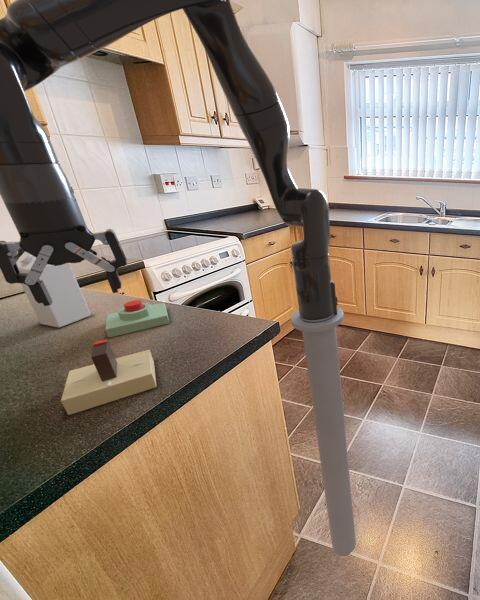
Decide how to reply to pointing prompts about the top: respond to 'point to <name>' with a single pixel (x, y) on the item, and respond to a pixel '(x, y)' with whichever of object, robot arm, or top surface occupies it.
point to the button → (133, 306)
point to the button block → (136, 319)
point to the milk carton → (56, 294)
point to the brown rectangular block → (104, 360)
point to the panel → (108, 383)
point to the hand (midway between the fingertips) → (83, 297)
